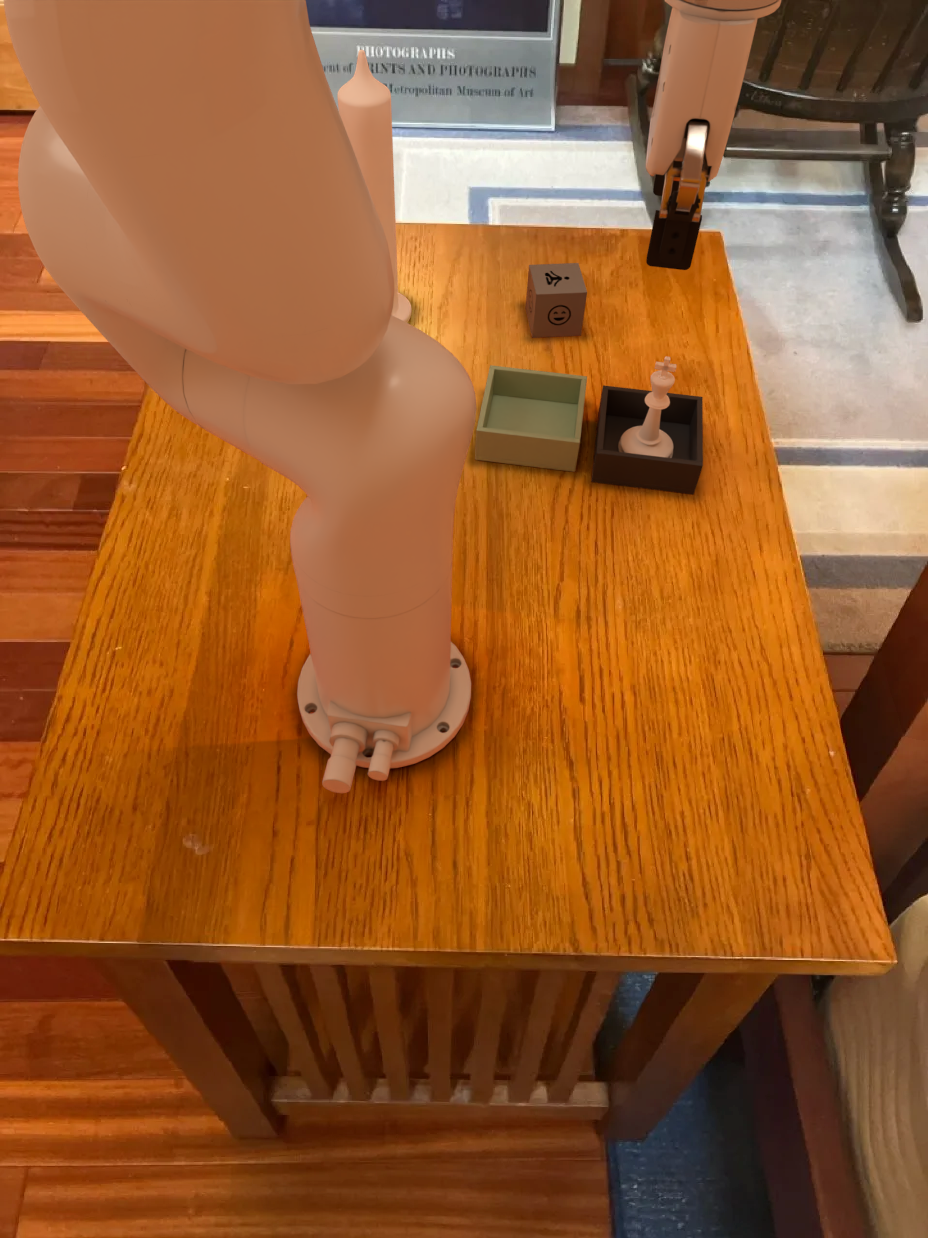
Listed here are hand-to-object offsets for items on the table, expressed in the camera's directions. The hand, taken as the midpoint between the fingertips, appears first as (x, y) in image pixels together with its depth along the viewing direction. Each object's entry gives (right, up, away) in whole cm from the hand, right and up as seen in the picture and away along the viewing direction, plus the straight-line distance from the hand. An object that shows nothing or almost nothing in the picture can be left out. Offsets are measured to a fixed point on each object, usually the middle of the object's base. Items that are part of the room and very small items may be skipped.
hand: (670, 229), depth 71 cm
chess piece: (+1, -14, +13) cm, 20 cm away
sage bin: (-10, -12, +15) cm, 22 cm away
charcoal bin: (+1, -15, +14) cm, 20 cm away
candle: (-25, +2, +25) cm, 35 cm away
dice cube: (-7, +1, +25) cm, 26 cm away
